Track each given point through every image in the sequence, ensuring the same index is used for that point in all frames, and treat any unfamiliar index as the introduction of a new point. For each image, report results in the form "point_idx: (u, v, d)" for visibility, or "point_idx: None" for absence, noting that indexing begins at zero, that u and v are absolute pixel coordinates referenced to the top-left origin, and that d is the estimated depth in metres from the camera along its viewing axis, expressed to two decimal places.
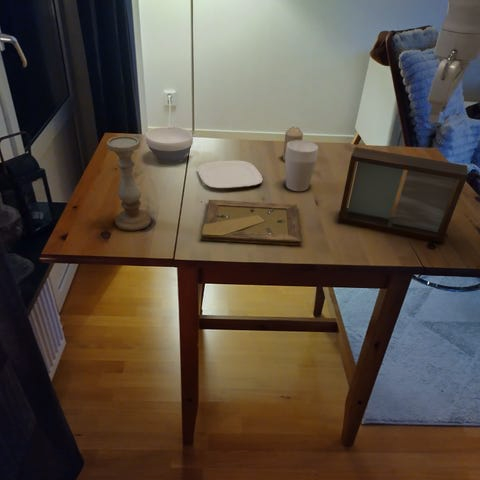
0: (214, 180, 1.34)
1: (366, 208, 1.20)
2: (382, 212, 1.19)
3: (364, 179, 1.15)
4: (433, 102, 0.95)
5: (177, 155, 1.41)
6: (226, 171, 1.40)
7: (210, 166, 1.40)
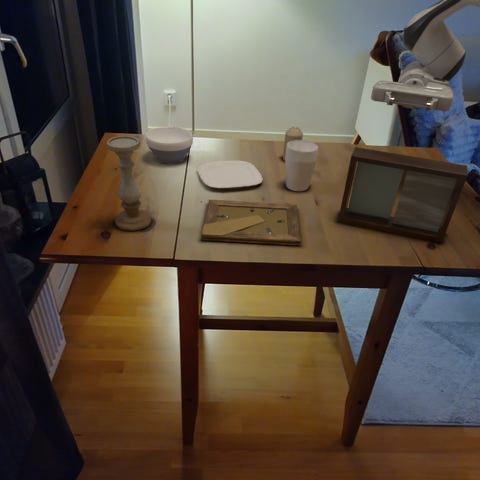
0: (214, 180, 1.34)
1: (366, 208, 1.20)
2: (382, 212, 1.19)
3: (364, 179, 1.15)
4: (372, 95, 1.21)
5: (177, 155, 1.41)
6: (226, 171, 1.40)
7: (210, 166, 1.40)
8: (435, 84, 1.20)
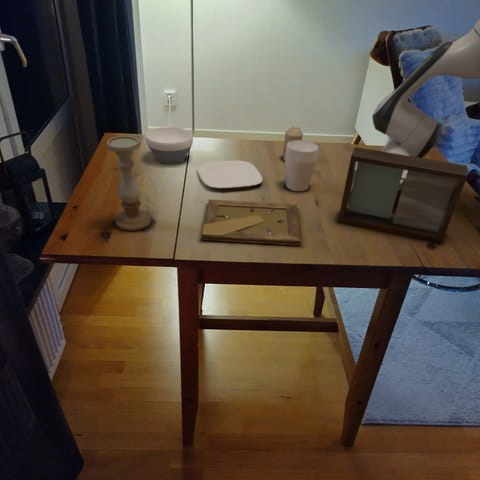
0: (214, 180, 1.34)
1: (366, 208, 1.20)
2: (382, 212, 1.19)
3: (364, 179, 1.15)
4: None
5: (177, 155, 1.41)
6: (226, 171, 1.40)
7: (210, 166, 1.40)
8: None
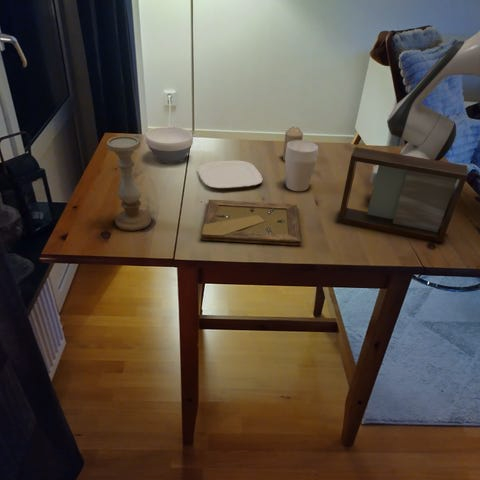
0: (214, 180, 1.34)
1: (385, 212, 1.19)
2: None
3: (384, 183, 1.14)
4: (371, 179, 1.22)
5: (177, 155, 1.41)
6: (226, 171, 1.40)
7: (210, 166, 1.40)
8: None
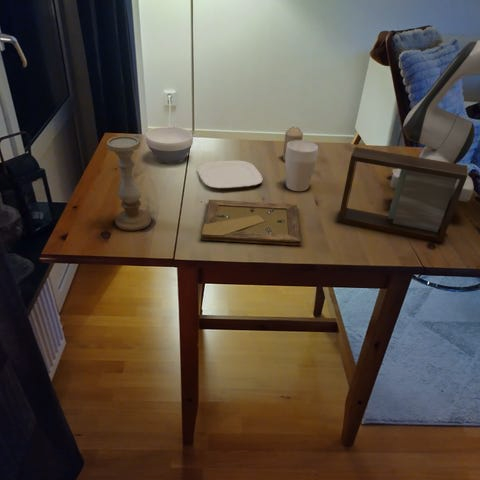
0: (214, 180, 1.34)
1: None
2: None
3: None
4: (391, 183, 1.21)
5: (177, 155, 1.41)
6: (226, 171, 1.40)
7: (210, 166, 1.40)
8: None
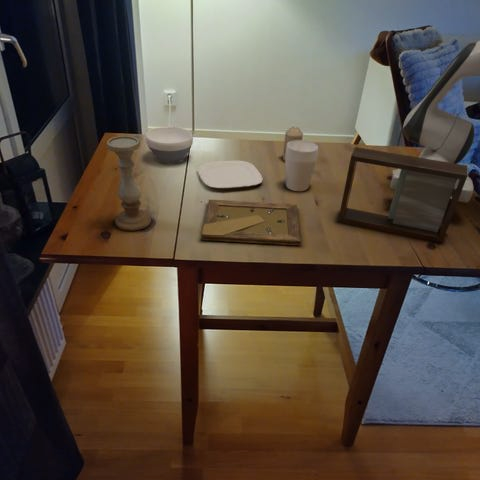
0: (214, 180, 1.34)
1: None
2: None
3: None
4: (391, 184, 1.21)
5: (177, 155, 1.41)
6: (226, 171, 1.40)
7: (210, 166, 1.40)
8: None
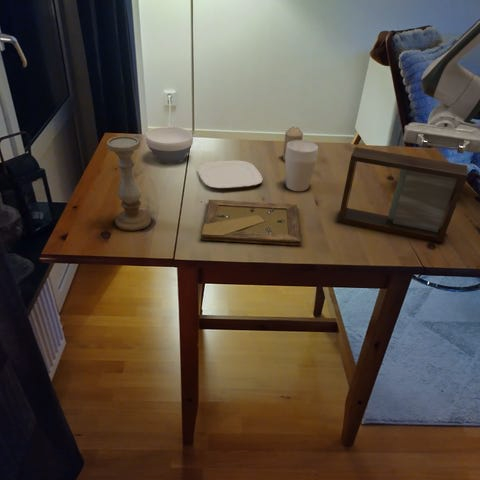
0: (214, 180, 1.34)
1: None
2: None
3: None
4: (404, 136, 1.25)
5: (177, 155, 1.41)
6: (226, 171, 1.40)
7: (210, 166, 1.40)
8: (466, 127, 1.24)
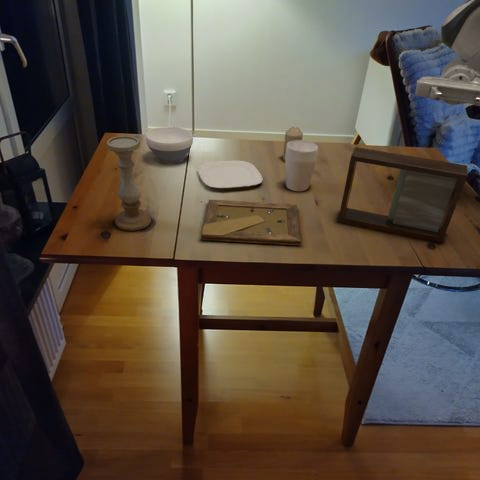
0: (214, 180, 1.34)
1: None
2: None
3: None
4: (416, 90, 1.18)
5: (177, 155, 1.41)
6: (226, 171, 1.40)
7: (210, 166, 1.40)
8: None
